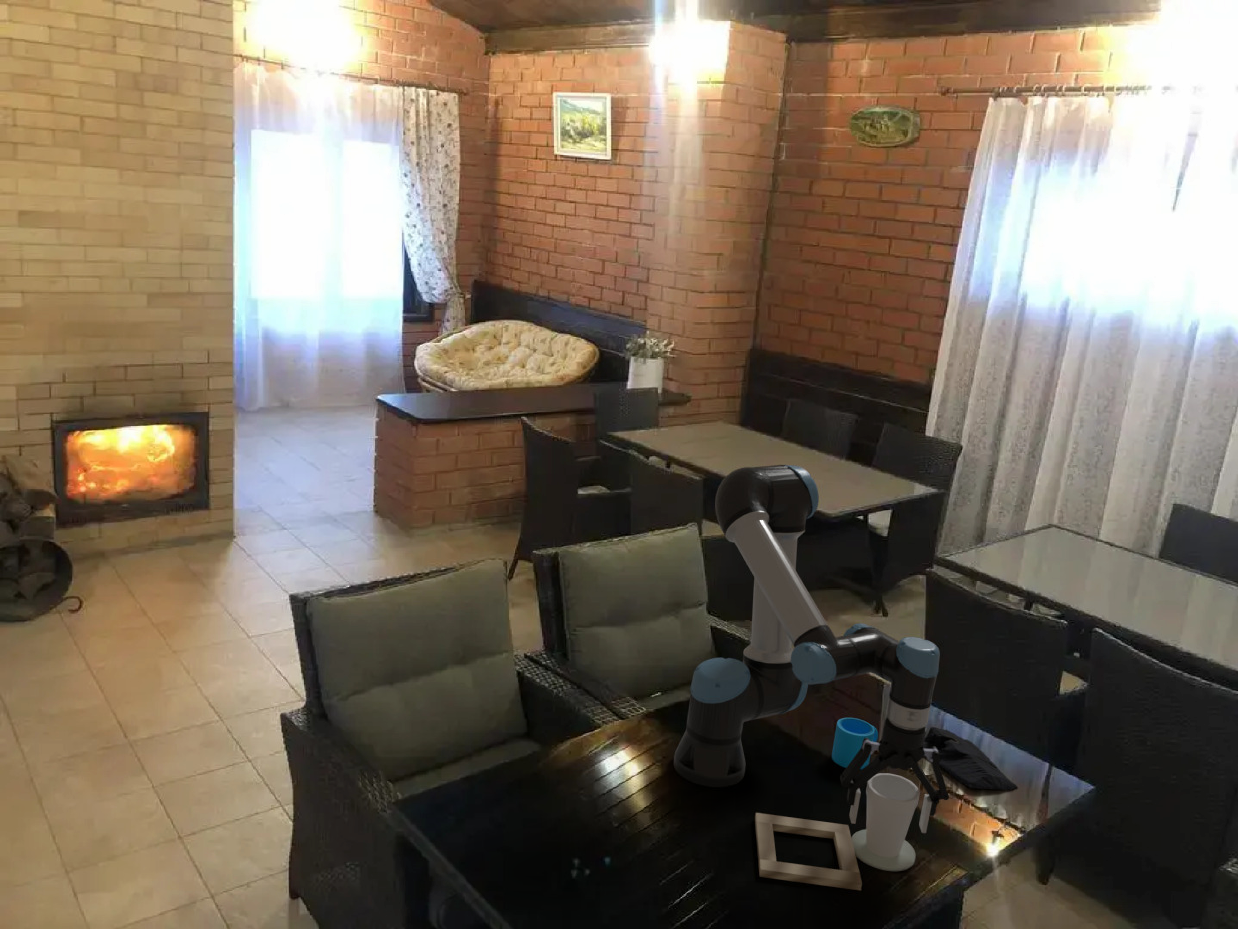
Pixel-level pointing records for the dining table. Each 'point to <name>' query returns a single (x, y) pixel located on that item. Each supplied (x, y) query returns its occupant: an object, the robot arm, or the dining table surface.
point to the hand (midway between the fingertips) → (887, 824)
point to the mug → (851, 740)
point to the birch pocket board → (802, 873)
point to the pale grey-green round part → (888, 864)
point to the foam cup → (889, 812)
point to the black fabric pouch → (966, 761)
